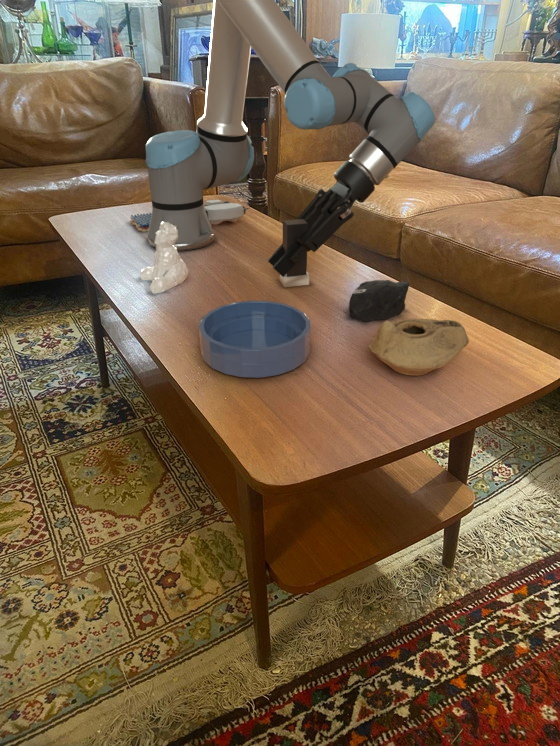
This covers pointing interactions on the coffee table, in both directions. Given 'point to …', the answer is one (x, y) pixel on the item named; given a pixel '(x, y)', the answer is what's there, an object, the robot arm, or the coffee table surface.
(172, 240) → the white creature statuette
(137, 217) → the woven mat
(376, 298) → the mineral
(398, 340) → the oil lamp
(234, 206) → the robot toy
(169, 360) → the coffee table surface
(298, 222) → the eraser
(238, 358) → the bowl
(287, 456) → the coffee table surface
